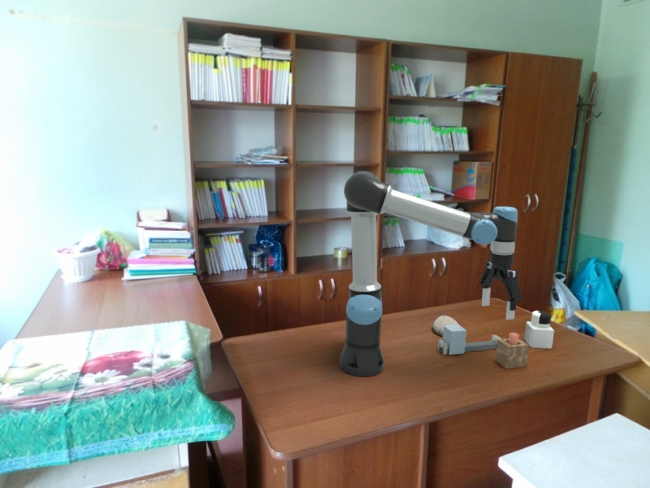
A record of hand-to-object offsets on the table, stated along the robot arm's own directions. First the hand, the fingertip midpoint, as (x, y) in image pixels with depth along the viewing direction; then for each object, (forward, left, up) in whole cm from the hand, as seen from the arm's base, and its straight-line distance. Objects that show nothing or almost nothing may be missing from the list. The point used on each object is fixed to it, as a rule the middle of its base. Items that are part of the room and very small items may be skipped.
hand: (497, 312), depth 155 cm
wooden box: (+5, -4, -18) cm, 19 cm away
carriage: (-10, +9, -18) cm, 22 cm away
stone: (-4, +26, -18) cm, 32 cm away
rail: (-3, +9, -18) cm, 20 cm away
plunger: (+5, -4, -15) cm, 16 cm away
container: (+26, +8, -18) cm, 32 cm away
